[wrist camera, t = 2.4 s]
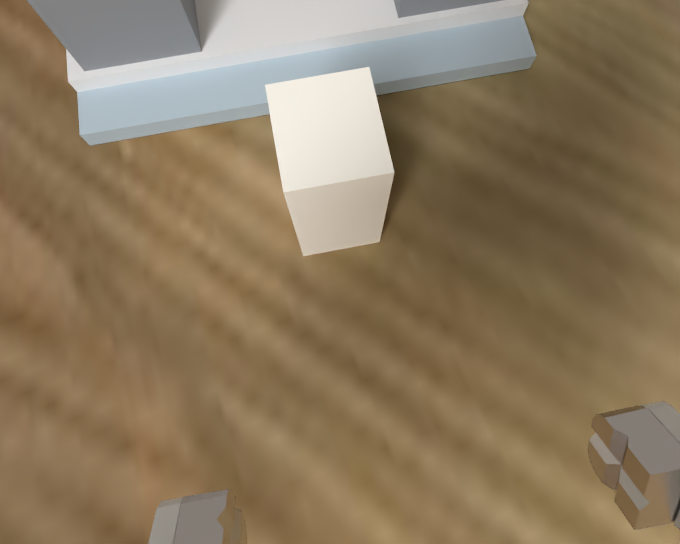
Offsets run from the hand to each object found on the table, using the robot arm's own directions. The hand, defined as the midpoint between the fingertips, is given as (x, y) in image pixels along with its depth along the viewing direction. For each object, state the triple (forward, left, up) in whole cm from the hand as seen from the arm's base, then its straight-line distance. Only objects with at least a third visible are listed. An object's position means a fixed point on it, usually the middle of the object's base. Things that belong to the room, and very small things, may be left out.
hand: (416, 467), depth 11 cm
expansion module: (-11, +5, -15) cm, 20 cm away
